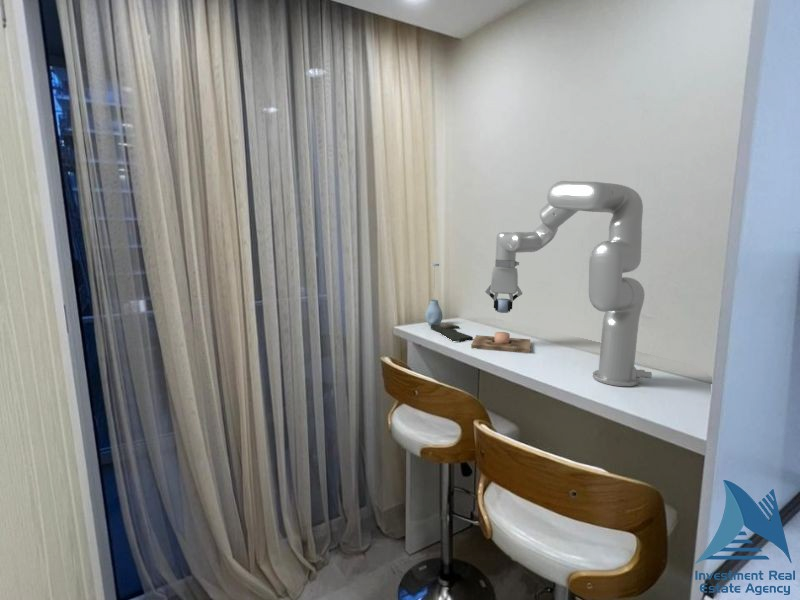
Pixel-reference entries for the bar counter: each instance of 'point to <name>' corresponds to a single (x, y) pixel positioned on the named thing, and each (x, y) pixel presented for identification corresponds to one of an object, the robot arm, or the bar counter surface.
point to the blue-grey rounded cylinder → (502, 305)
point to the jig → (489, 344)
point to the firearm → (451, 332)
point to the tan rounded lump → (502, 338)
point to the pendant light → (434, 309)
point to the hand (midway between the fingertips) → (502, 310)
